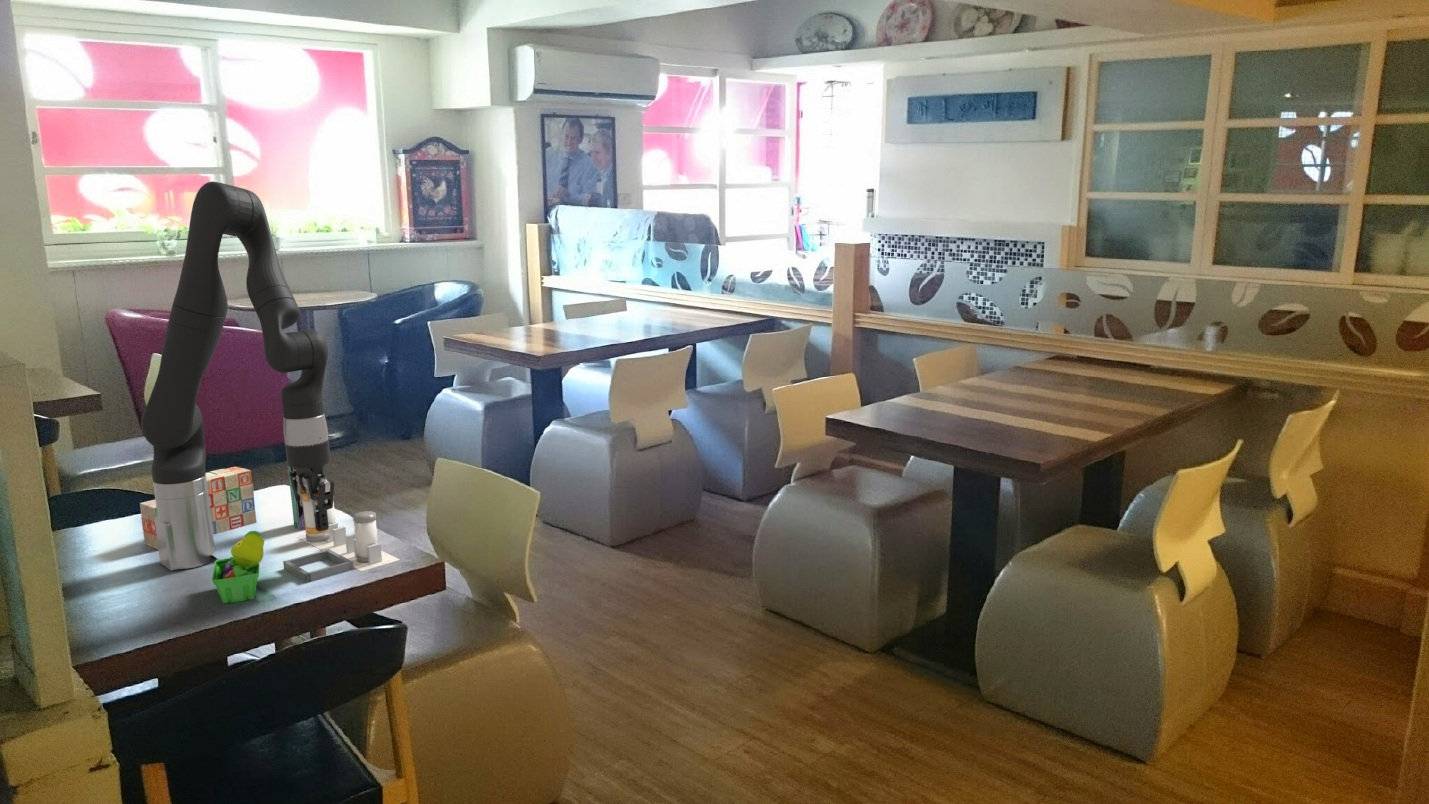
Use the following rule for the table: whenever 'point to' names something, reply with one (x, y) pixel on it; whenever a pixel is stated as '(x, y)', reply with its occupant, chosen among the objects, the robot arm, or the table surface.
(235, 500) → the stack of blocks
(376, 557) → the fuse strip
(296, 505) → the spray can
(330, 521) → the fuse left
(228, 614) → the table surface
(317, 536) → the fuse marked
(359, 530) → the fuse right
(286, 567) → the tray
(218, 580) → the fruit basket
